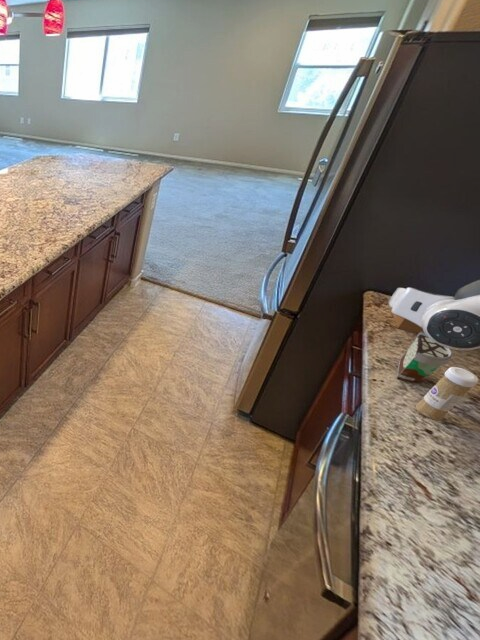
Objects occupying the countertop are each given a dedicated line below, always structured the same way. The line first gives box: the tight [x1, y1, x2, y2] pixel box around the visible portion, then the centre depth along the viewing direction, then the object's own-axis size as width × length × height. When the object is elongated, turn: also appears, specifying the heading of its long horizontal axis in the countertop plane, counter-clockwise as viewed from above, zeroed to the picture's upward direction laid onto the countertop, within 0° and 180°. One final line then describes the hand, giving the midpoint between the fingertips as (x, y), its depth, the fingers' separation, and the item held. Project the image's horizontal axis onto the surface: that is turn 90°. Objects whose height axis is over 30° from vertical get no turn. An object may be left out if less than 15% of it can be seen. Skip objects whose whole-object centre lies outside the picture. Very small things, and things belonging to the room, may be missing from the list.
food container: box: [396, 332, 452, 384], centre depth 100 cm, size 12×6×10 cm, turn 132°
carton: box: [389, 306, 424, 335], centre depth 118 cm, size 11×12×8 cm
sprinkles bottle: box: [415, 366, 480, 421], centre depth 89 cm, size 5×5×13 cm
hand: (456, 313), depth 86 cm, fingers closed
